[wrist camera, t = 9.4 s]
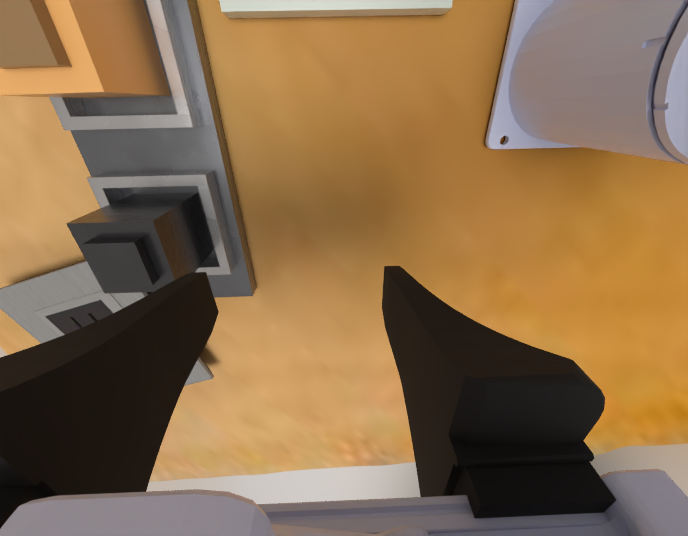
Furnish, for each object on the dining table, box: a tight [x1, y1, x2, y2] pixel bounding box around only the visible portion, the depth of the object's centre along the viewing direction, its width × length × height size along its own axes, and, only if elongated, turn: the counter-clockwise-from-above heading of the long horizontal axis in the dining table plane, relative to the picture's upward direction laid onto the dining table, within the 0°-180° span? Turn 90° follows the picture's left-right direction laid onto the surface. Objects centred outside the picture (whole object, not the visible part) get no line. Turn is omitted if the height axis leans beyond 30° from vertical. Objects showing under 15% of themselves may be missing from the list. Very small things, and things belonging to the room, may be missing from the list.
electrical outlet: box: [0, 261, 214, 386], centre depth 23 cm, size 13×10×2 cm
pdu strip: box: [49, 0, 256, 297], centre depth 14 cm, size 22×8×7 cm, turn 1°
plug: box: [0, 0, 171, 98], centre depth 12 cm, size 4×4×6 cm
